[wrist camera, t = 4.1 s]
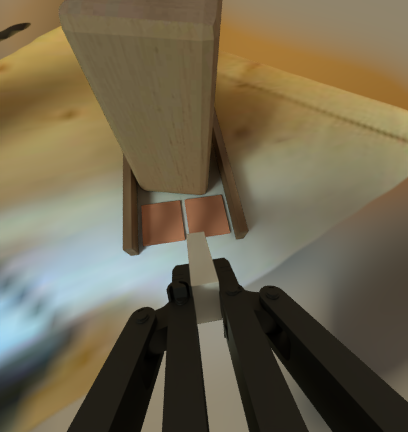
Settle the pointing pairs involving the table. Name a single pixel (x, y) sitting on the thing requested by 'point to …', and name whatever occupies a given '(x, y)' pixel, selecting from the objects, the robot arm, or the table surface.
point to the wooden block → (152, 82)
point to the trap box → (171, 211)
